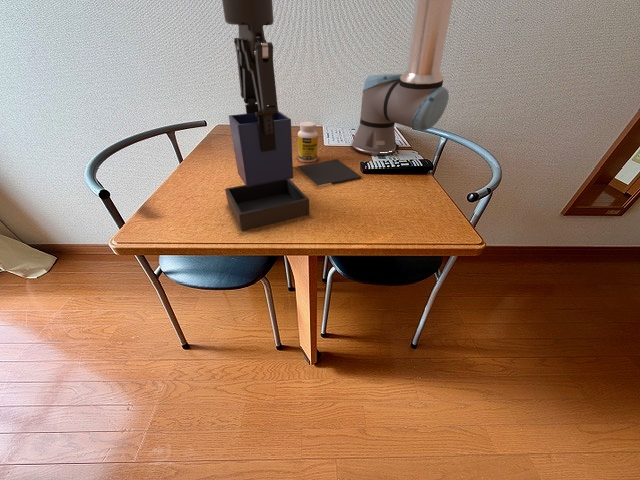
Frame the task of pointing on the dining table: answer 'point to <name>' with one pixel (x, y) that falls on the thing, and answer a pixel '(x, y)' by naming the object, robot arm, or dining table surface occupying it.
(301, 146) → the pill bottle
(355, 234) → the dining table surface
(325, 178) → the mat
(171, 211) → the dining table surface
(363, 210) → the dining table surface
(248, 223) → the bin
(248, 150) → the inner bin
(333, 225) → the dining table surface
